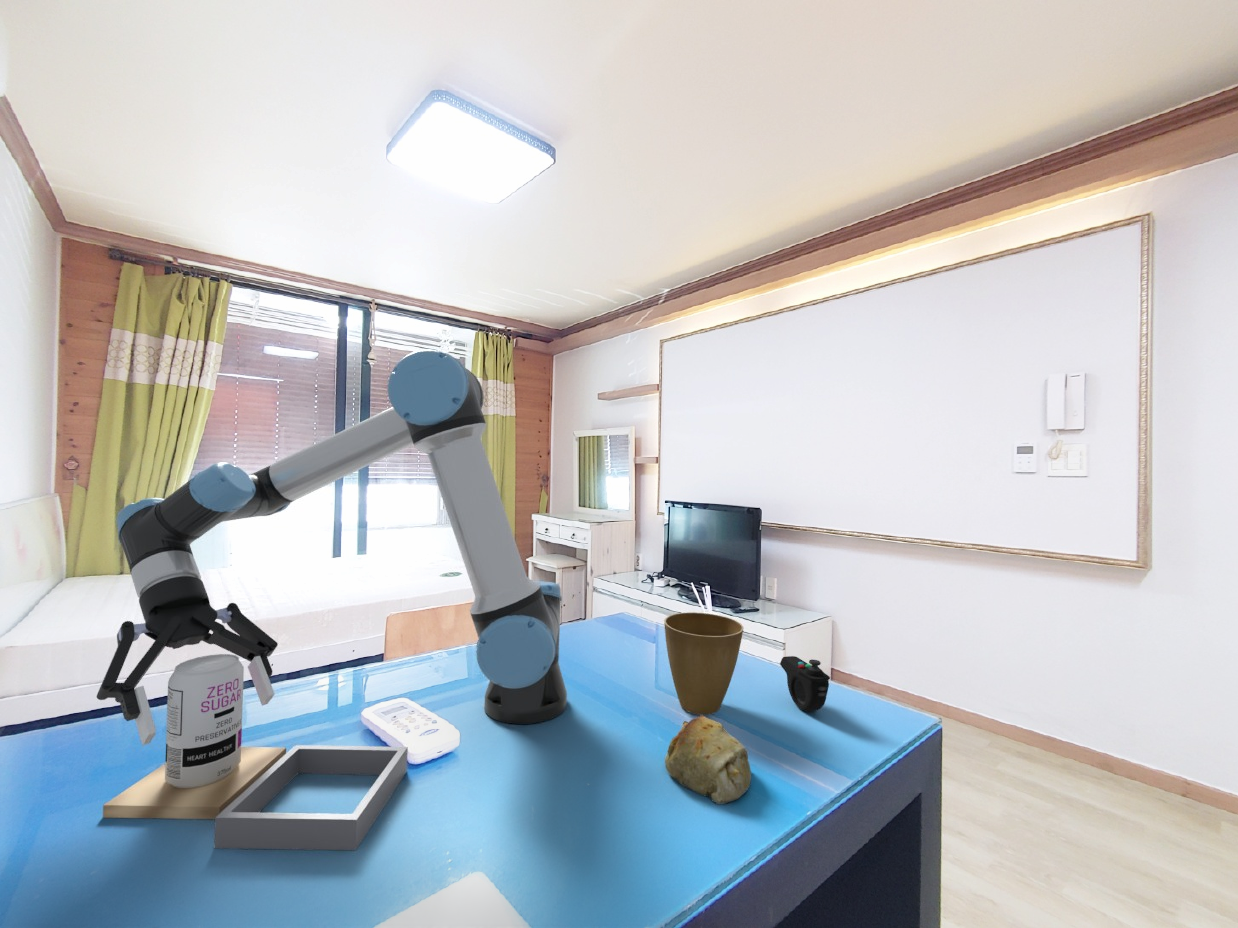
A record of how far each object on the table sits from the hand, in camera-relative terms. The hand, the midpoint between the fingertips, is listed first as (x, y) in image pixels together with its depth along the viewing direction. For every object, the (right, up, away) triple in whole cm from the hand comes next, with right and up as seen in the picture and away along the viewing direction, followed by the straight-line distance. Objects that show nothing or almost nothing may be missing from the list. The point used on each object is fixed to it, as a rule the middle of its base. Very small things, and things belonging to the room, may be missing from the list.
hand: (213, 718), depth 72 cm
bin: (+16, -10, -2) cm, 19 cm away
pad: (-2, -10, +1) cm, 10 cm away
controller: (+90, -13, +32) cm, 96 cm away
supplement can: (-2, -8, +1) cm, 9 cm away
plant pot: (+70, -12, +30) cm, 77 cm away
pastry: (+67, -12, +7) cm, 69 cm away
